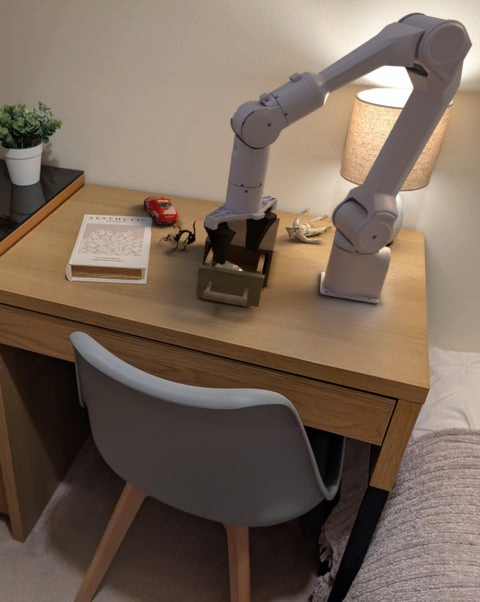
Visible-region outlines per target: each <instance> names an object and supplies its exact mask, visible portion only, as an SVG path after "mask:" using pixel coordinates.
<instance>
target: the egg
mask: <svg viewBox="0 0 480 602" xmlns="http://www.w3.org/2000/svg"><path fill="white" fill-rule="evenodd" d="M215 267H219V268H225V269H231V270H238V271H243V270H242V269H241V268H240V267H238V266H237V265H235V264H233V263H231V262H228V261H226V262H225V264H223V265H220V264H219V263H218V264H217V265H216V266H215Z"/></svg>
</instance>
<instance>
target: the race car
mask: <svg viewBox="0 0 480 602" xmlns="http://www.w3.org/2000/svg"><path fill="white" fill-rule="evenodd" d="M143 209H144V210H146V211H147V213H148V215H149V216H150V217H151V218H152V219H153V222H154V224H158V225H162V226H163V225H165V226H166V225H175V224H178V223H179V213H178V211H177V209H176V208H175V206H174V205H173V203H172V202H171V199H170V198H165V197H163V196H158V195H152V196H151V195H150V196H148V197H146V198H145V199H144V200H143Z"/></svg>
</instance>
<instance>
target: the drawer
mask: <svg viewBox="0 0 480 602" xmlns="http://www.w3.org/2000/svg"><path fill="white" fill-rule="evenodd" d="M265 257H266V253H262V252H256V253H253V252H251V251H249V250H242V249H235V248H229V250H228V255H227V260H226V261H228V262H231V263H233V264H235V265H237V266H238V267H240V268H241V269H242V270H243V271H238V270H231V269H225V268H219V267H215V266H216V265H217V264H218V263H217V262H215V261H214V259H213V252H212V247H211V249H210V251H209V254H208V256H207V258H206V261H205V265H203V264H199V266H198V269H197V270H198V271H197V279H196V289H195V296H196V297H199V298H200V297H201V298H202V299H205V300H210V301H215V302H220V303H226V304H231V305H236V306H243V307H246V306H249V307H256V308H259V306H260V301H261V297H262V296H261V295H262V290H263V287H264V286H263V280H264V275H262V272H263V268H264V262H265Z"/></svg>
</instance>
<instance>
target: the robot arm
mask: <svg viewBox="0 0 480 602" xmlns="http://www.w3.org/2000/svg"><path fill="white" fill-rule="evenodd" d="M472 47H473V43H472V40H471V37H470V35H469V33H468V30H467V28H466V26H465V25H464V24H463V23H462V22H461V21H460V20H457V19H449V18H447V19H445V18H441V17H436V16H431V15H427V14H425V13H424V12H422V13H421V12H411V13H408V14H405V15H404V16H402V17H400V18H399V19H398V20H397V21H394V22H392V23H388V24H386V25H385V26H384V27H383V28H382V29H381V30H380V31H379V32H378V33H377V34H375V35H374V36H373V37H371V38H369V39H368V40H367V41H365V42H363V43H362V44H361V45H359V46H358V47H356V48H354V49H353V50H351V51H350V52H348V53H346V54H345V55H344V56H342V57H341V58H338V60H336V61H334V62H333V63H332V64H330V65H328V66H327V67H325V68H323V69H322V70H321V71H319V72H317V73H313V72H311V71H304V72H302V73H299V72H298V71H296V72H294V73H293V74H291V75H290V76H289V77H288V79H289V81H287V82H285V83H284V84H282V85H280V86H278V87H277V88H275V89H273V90H272V91H270V92H268V93H267V92H263V93H262V94H260V95H259V96H258V97H259V100H256V99H255V100H248V101H245V102H243V103H241V105H239V106H238V107H237V108H236V111H235V112H234V113H233V115H232V117H230V119H229V125H230V128H231V130H232V132H233V133H234V137H233V144H232V151H231V155H230V165H229V172H228V181H227V187H226V195H225V201H224V203H223V204H222V205H220V206H219V207H218V208H216V209H215V210H214V211H212V212H210V213H208V214H205V217H204V218H205V219H204V222H203V228H204V231H205V232H206V235H207V236H208V237H209V239H210V242H211V247H212V252H213V259H214V261H215V262H217V263H219V264H220V265H223V264H225V262H226V260H227V255H228V250H229V247H230V244H231V241H232V239H233V237H234V236H235V234H236V233H237V232H235V231H233V230H231V229H229V226H228V223H229V222H232V221H235V220H241V219H246V240H245V247H246V249H247V250H249V251H251V252H253V253H256V252H257V250H258V248H259V246H260V244H261V242H262V240H263V238H264V236H265V234H266V233H267V231H268V230H269V228H270V227H271V226H272V224H273V223H274V222H275V221H276V220H277V218H278V214H277V213H275V212H273V211H275V210H277V207H278V200H279V199H278V198H276V197H274V196H271V195H265V196H264V191H265V186H266V180H267V174H268V167H269V161H270V155H271V147H272V145H273V144H274V143H275V142H276V141H277V140H278V139H279V137H280V135H281V133H282V132H283V130H284V129H286V128H289V127H290V126H292V125H293V124H295V123H297V122H298V121H300V120H302V119H303V118H306V117H307V116H309V115H311V114H313V113H314V112H316V111H318V110H319V109H321V108H323V107H324V105H325V104H326V101H327V99H328V97H329V95H330V94H332V93H334V92H335V91H337V90H340V89H341V88H343V87H346V86H347V85H350V84H351V83H353V82H356V81H357V80H359V79H361V78H363V77H365V76H367V75H368V74H370V73H373V72H374V71H376V70H378V69H380V68H382V67H402V68H404V69H405V71H406V73H407V75H408V77H409V80H410V83H411V85H412V91H411V93H410V94H409V96H408V98H407V100H406V102H405V104H404V105H403V108H402V110H401V111H400V113H399V114H398V116H397V119H396V121H395V123H393V126H392V128H391V129H390V132H389V133H388V136H387V137H386V139H385V141H384V143H383V145H382V147H381V149H380V151H379V152H378V154H377V156H376V157H375V159H374V161H373V164H372V166H371V167H370V169H369V171H368V173H367V175H366V177H365V178H364V180H363V182H362V183H361V184H360V185H357V186H355V187H353V188H351V189H350V190H349V191H348V193H347V195H346V196H345V198H344V199H343V200H342V201H340V202H339V203H338V204H337V205H336V207H334V209H333V211H332V214H331V223H332V226H334V228H335V230H334V237H333V240H332V244H331V249H330V252H329V257H328V261H327V265H326V268H325V271H321V272H320V282H319V294H320V295H324V296H327V297H335V298H339V299H340V298H341V299H346V300H351V301H358V302H364V303H370V304H379V302H380V296H381V294H382V290H383V286H384V284H385V281H386V278H387V274H388V271H389V268H390V264H391V257H392V249H391V248H390V247H388V246H387V245H388V244H389V243H390V241H391V240H392V238H393V235H394V226H395V223H396V222H397V221H396V220H398V218H399V210H398V209H399V208H398V204H397V196H398V194H399V193H400V191H401V190H402V188H403V186H404V184H405V182H406V180H407V179H408V177H409V175H410V174H411V172H412V171H413V169H414V167H415V165H416V164H417V163H418V160H419V158H420V156H421V155H422V153H423V152H424V149H425V148H426V146H427V144H428V143H429V141H430V139H431V137H432V136H433V134H434V132H435V130H436V128H437V127H438V126H439V123H441V120H442V118H443V116H444V115H445V113H446V111H447V109H448V108H449V106H450V104H451V103H452V101H453V99H454V97H455V96H456V94H457V92H458V90H459V88H460V86H461V82H462V76H463V75H462V74H463V68H464V61H465V59H466V57H467V56H468V54H469V52H470V50H471V48H472Z"/></svg>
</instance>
